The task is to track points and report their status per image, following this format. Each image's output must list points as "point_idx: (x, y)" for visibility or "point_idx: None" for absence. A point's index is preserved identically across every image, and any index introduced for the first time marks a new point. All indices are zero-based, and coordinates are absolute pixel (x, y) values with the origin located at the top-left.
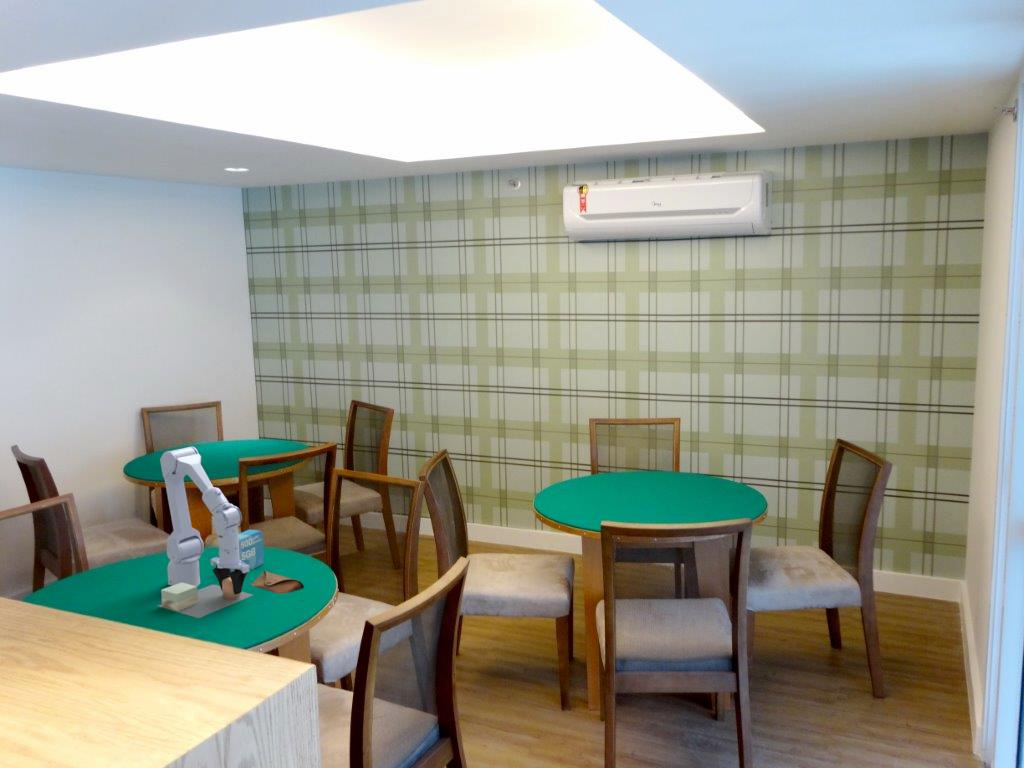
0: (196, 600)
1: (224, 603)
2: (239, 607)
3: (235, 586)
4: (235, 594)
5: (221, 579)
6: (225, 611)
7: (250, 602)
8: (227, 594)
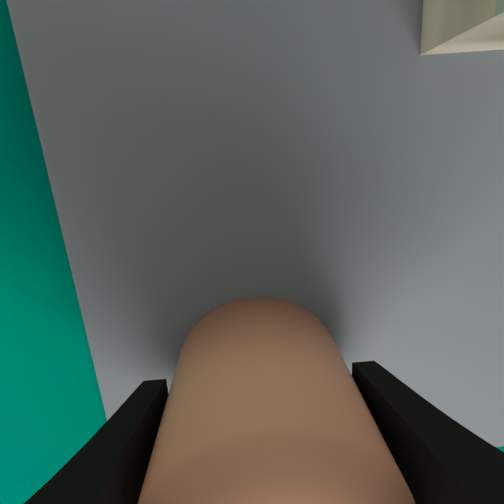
0: (442, 15)
1: (144, 219)
2: (29, 281)
3: (71, 461)
4: (147, 380)
5: (438, 488)
6: (34, 141)
7: (66, 395)
8: (216, 331)
